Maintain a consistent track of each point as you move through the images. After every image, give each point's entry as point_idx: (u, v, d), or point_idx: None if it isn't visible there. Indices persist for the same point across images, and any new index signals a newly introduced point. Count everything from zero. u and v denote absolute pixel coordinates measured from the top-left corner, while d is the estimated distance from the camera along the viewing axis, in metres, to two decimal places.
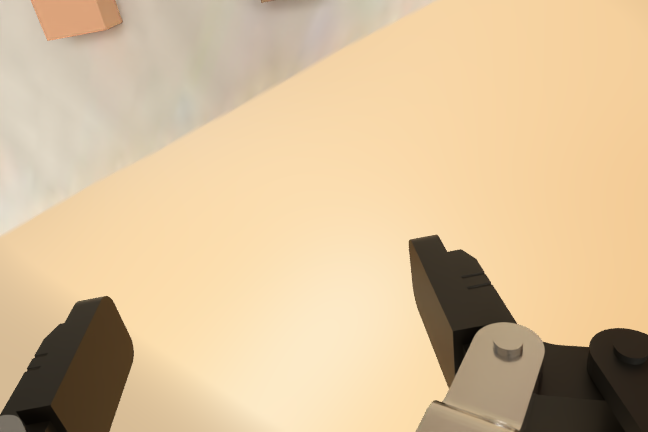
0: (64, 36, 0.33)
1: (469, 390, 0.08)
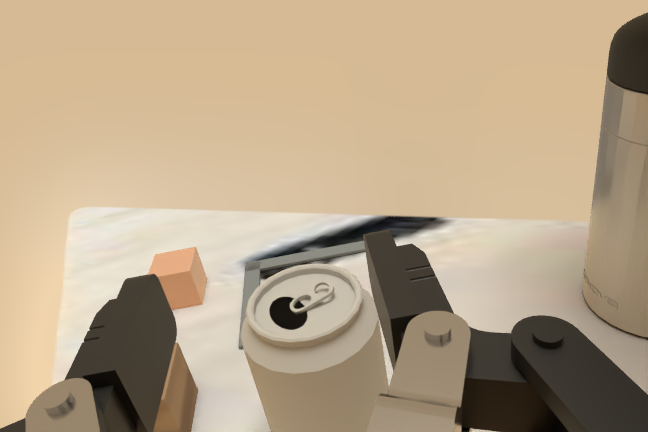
0: (153, 261, 0.47)
1: (409, 379, 0.09)
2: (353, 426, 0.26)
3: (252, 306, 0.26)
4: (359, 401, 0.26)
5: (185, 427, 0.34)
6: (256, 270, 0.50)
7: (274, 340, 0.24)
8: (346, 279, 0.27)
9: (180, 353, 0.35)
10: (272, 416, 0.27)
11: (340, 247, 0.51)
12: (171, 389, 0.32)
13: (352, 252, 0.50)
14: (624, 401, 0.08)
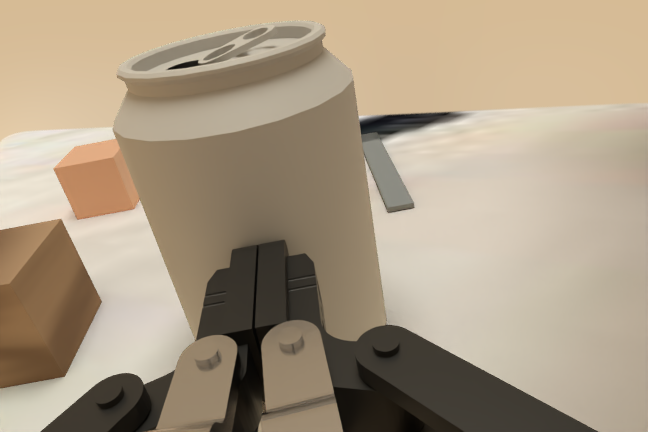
0: (70, 152, 0.35)
1: (281, 391, 0.09)
2: None
3: (132, 62, 0.15)
4: (321, 221, 0.14)
5: (61, 342, 0.21)
6: None
7: (152, 79, 0.13)
8: (300, 31, 0.16)
9: (65, 236, 0.23)
10: (172, 261, 0.15)
11: None
12: (32, 276, 0.20)
13: None
14: (464, 381, 0.08)
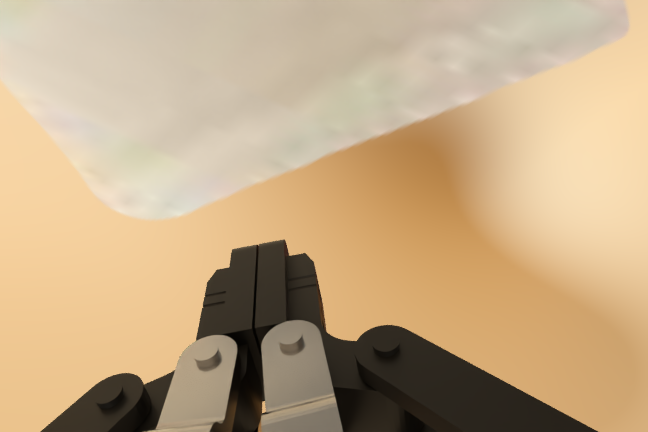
0: None
1: (281, 391, 0.09)
2: None
3: None
4: None
5: None
6: None
7: None
8: None
9: None
10: None
11: None
12: None
13: None
14: (464, 381, 0.08)
